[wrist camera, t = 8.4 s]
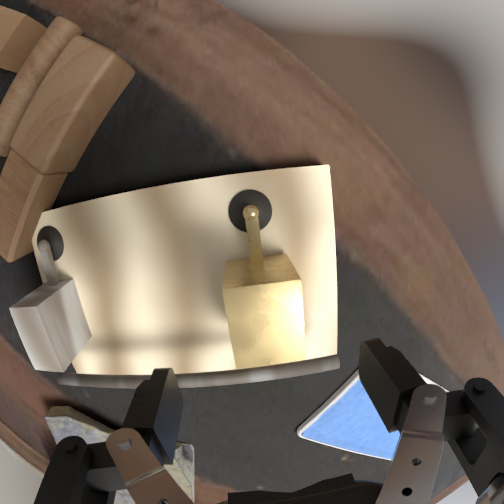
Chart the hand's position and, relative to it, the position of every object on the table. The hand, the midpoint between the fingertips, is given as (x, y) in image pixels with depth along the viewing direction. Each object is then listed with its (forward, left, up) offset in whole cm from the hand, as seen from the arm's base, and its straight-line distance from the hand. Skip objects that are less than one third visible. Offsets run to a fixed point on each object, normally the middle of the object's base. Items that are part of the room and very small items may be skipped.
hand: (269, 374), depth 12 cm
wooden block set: (-18, +17, -12) cm, 27 cm away
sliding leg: (0, +2, -9) cm, 9 cm away
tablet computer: (+13, -19, -12) cm, 26 cm away
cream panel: (-6, 0, -11) cm, 12 cm away
